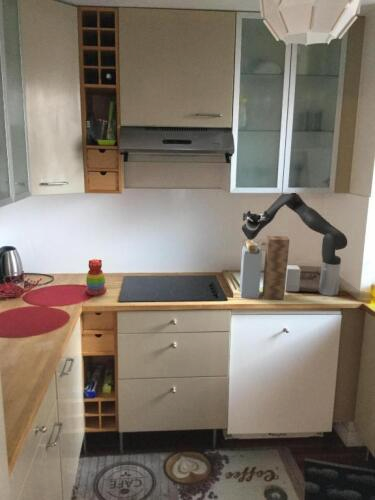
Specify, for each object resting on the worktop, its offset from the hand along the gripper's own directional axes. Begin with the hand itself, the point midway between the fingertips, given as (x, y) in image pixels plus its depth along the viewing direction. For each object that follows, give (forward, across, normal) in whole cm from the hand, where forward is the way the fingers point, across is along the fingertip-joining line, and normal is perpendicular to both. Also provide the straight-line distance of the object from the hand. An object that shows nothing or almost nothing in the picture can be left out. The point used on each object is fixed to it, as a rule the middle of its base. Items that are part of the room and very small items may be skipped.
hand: (257, 212), depth 234 cm
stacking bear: (-3, -85, +45) cm, 96 cm away
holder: (-6, -5, +44) cm, 44 cm away
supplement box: (-14, +19, +39) cm, 46 cm away
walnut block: (-2, +7, +46) cm, 46 cm away
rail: (+4, -5, +22) cm, 23 cm away
